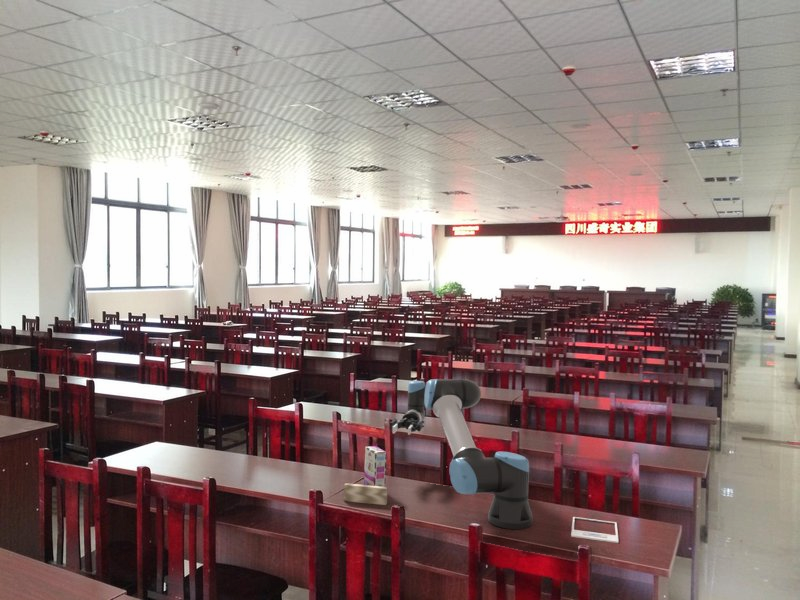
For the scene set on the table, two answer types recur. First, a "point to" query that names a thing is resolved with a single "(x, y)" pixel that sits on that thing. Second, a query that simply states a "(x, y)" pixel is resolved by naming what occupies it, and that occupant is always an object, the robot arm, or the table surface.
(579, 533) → the photo frame
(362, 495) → the board
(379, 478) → the candy bar box
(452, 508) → the table surface
